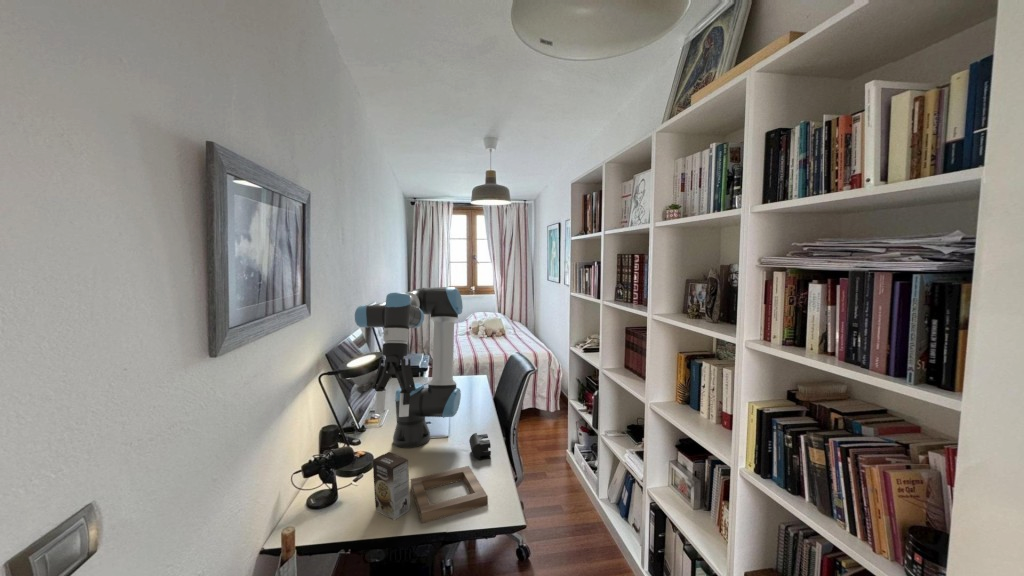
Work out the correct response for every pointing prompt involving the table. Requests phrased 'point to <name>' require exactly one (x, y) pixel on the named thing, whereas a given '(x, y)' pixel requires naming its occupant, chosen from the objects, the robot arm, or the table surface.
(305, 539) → the table surface
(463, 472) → the walnut hole plate
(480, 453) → the end cap
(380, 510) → the coffee box
